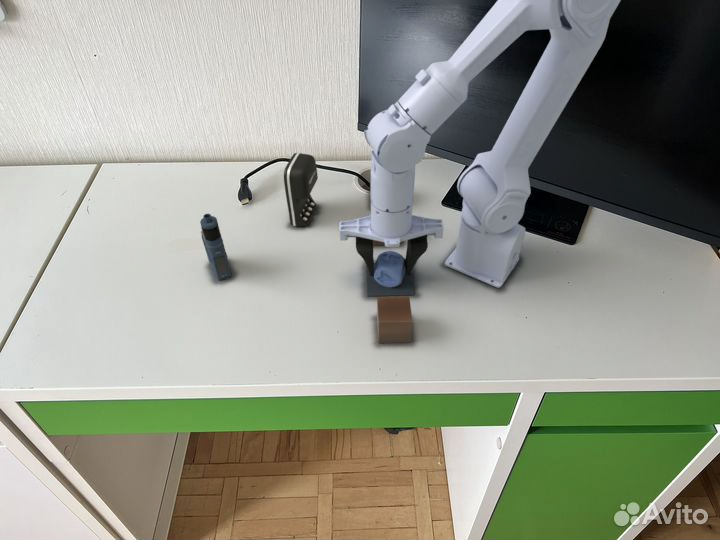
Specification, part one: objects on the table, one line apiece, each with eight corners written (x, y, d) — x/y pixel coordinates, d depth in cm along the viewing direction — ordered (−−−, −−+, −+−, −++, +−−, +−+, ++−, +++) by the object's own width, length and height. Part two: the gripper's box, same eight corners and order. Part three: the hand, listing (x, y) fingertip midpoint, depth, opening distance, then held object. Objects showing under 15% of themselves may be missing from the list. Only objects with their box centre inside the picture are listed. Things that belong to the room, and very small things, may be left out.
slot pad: (414, 295, 80) (414, 294, 80) (367, 296, 80) (367, 295, 80) (410, 263, 85) (410, 262, 84) (366, 264, 85) (366, 263, 84)
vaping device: (218, 283, 82) (200, 223, 74) (208, 262, 85) (190, 203, 77) (234, 277, 83) (218, 218, 74) (224, 257, 86) (208, 198, 78)
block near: (410, 342, 73) (412, 321, 70) (378, 343, 73) (378, 322, 70) (408, 317, 77) (409, 296, 73) (376, 318, 77) (377, 297, 73)
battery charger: (310, 230, 91) (304, 174, 83) (289, 227, 91) (281, 171, 83) (322, 205, 95) (317, 150, 87) (302, 202, 96) (295, 147, 88)
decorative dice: (399, 289, 80) (400, 271, 77) (373, 285, 81) (373, 266, 78) (405, 271, 83) (406, 253, 80) (380, 267, 84) (380, 248, 81)
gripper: (337, 219, 68) (341, 291, 78) (450, 217, 68) (440, 289, 78) (338, 187, 73) (342, 258, 83) (443, 184, 73) (434, 256, 83)
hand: (389, 271), depth 81 cm, fingers closed on decorative dice, 5 cm apart
